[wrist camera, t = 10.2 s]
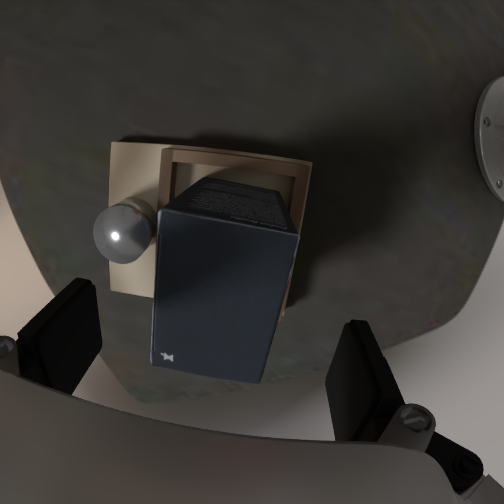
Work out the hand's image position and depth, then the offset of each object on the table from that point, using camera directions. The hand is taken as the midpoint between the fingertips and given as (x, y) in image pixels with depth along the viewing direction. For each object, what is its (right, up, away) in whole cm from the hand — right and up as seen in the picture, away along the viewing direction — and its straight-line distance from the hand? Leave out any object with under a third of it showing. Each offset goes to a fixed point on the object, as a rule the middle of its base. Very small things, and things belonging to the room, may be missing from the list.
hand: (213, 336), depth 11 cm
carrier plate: (-2, +5, +13) cm, 14 cm away
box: (0, +4, +12) cm, 13 cm away
